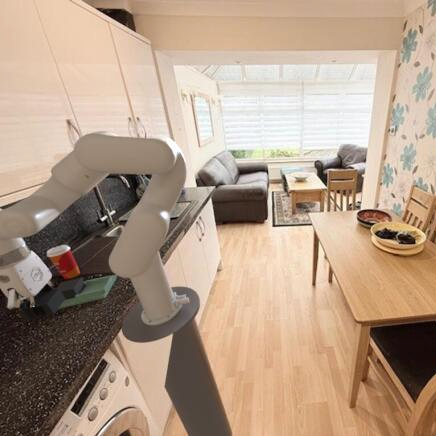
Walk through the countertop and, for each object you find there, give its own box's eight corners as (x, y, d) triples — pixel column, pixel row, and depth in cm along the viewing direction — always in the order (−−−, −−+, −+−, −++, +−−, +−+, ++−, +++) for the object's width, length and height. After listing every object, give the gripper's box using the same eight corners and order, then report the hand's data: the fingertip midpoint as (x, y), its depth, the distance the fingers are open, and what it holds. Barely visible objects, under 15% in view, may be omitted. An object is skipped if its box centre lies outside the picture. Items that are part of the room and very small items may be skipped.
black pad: (65, 298, 72) (59, 288, 70) (54, 314, 66) (46, 303, 65) (39, 304, 70) (32, 294, 68) (25, 321, 65) (16, 310, 63)
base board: (117, 276, 104) (112, 267, 102) (105, 298, 92) (100, 288, 90) (65, 287, 99) (60, 277, 97) (46, 312, 87) (39, 301, 85)
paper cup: (61, 275, 107) (45, 249, 101) (82, 267, 112) (68, 242, 106) (61, 283, 102) (44, 256, 96) (83, 275, 106) (69, 248, 100)
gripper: (2, 271, 54) (44, 326, 62) (46, 236, 69) (74, 284, 76) (-41, 280, 52) (7, 336, 60) (13, 242, 67) (46, 291, 74)
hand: (45, 307), depth 68 cm, fingers closed on black pad, 6 cm apart
